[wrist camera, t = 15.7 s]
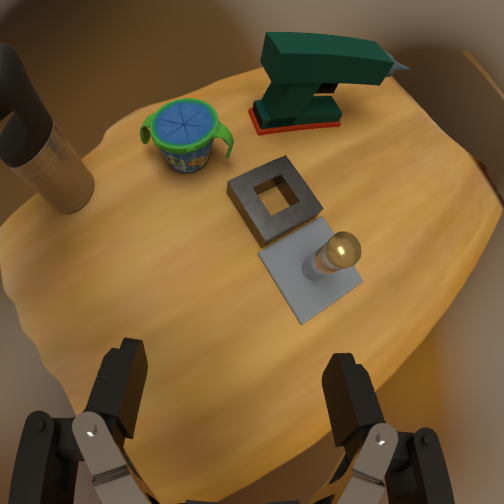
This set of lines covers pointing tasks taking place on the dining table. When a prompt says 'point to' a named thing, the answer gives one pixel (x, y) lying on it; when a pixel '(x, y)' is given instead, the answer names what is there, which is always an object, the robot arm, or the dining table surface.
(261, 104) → the power tool
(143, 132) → the snack cup
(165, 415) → the dining table surface
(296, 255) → the mat
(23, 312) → the dining table surface
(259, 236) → the socket block
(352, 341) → the dining table surface
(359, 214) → the dining table surface
